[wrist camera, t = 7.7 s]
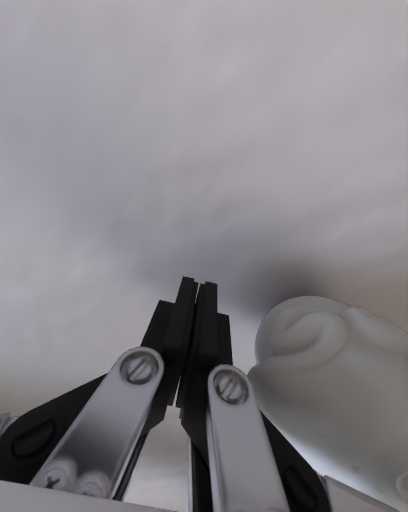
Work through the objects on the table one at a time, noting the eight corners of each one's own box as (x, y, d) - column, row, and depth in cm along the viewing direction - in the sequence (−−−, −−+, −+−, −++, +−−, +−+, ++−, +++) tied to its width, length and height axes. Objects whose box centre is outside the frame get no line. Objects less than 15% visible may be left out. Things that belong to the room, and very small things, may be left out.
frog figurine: (333, 368, 13) (447, 574, 6) (221, 342, 12) (225, 532, 6) (395, 286, 10) (683, 490, 4) (257, 251, 10) (327, 411, 4)
